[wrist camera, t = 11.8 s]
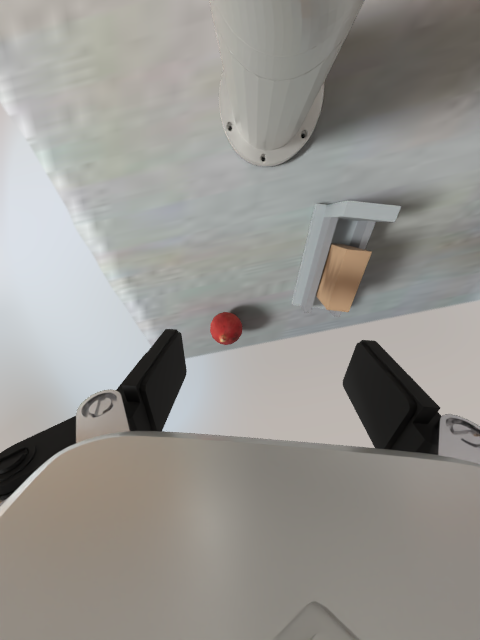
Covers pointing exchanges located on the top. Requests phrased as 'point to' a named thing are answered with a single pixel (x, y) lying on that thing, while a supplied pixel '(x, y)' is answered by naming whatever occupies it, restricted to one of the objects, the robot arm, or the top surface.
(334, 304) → the door slab
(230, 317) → the onion
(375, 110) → the top surface
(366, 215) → the track
